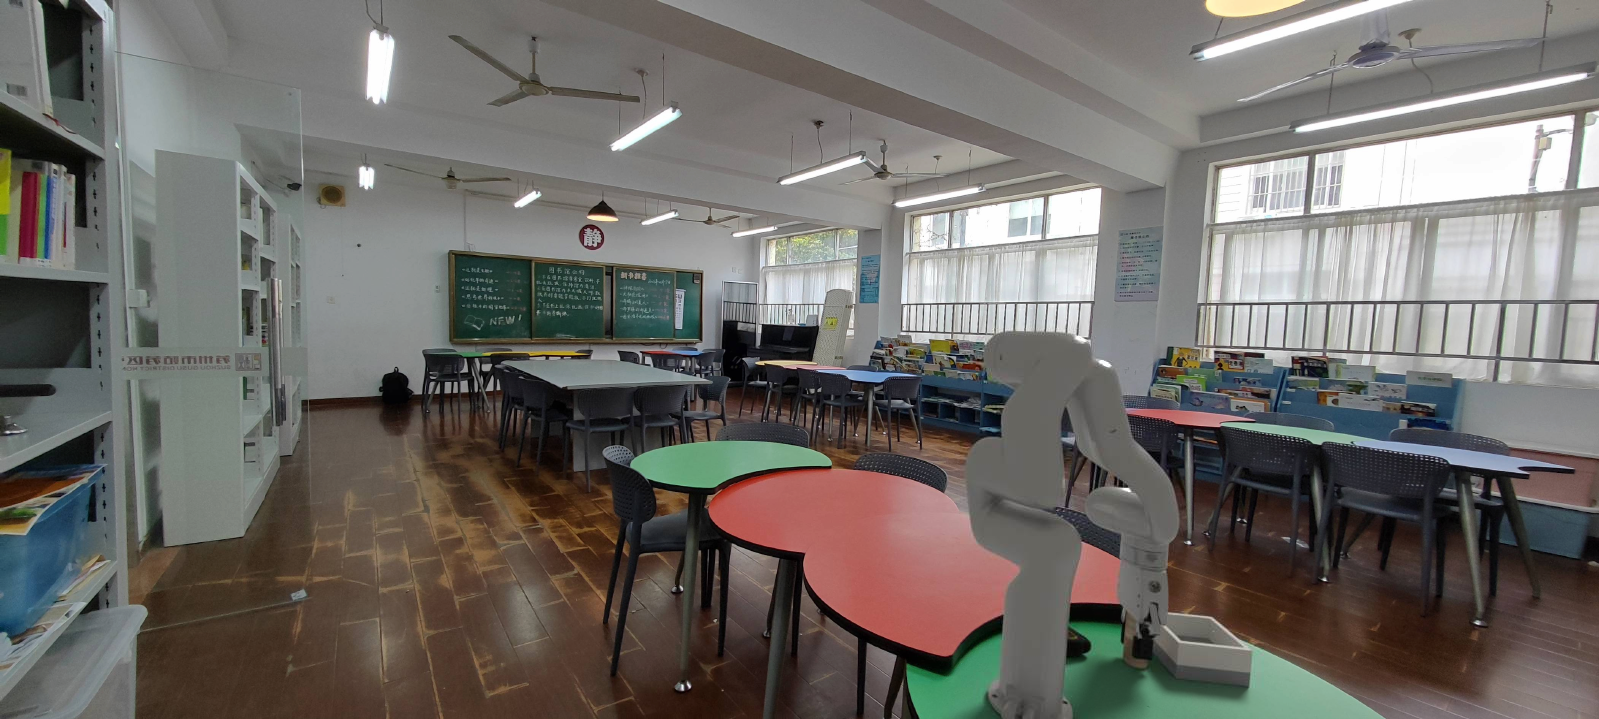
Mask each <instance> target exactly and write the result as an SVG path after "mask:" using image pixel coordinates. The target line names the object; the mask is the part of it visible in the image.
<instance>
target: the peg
mask: <svg viewBox="0 0 1599 719" xmlns="http://www.w3.org/2000/svg"><path fill="white" fill-rule="evenodd" d="M1144 620H1148V618H1144ZM1148 627H1149V625H1142V630H1143V629H1144V628H1148ZM1133 636H1136V620H1135V619H1134V618H1133V617H1132V616H1131V615H1130V614H1129V612H1128V611H1127V614H1126V625H1125V636H1124V644H1123V647H1122V648H1123V651H1122V658H1121V659H1122V661H1123V662H1124V663H1125V664H1126V665H1128V666H1129V667H1131V668H1135V669H1138V670H1139V669H1140V670H1146V669H1147V668H1148V664H1149V660H1142V659H1135V658H1133V656H1132V647H1133Z"/></svg>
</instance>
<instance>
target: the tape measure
mask: <svg viewBox="0 0 1599 719" xmlns="http://www.w3.org/2000/svg"><path fill="white" fill-rule="evenodd" d="M1091 650H1092V642H1091V641H1090V640H1089V639H1088V638H1087V637H1086V636H1084V635H1083V634H1081V633H1080V632H1078V631H1077V630H1075V629H1074V628H1072V627H1070V625H1068V638H1067V651H1066V657H1078V656H1081V655H1084V654H1088V653H1089V652H1090V651H1091Z"/></svg>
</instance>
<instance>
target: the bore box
mask: <svg viewBox="0 0 1599 719" xmlns="http://www.w3.org/2000/svg"><path fill="white" fill-rule="evenodd" d="M1160 629H1161V635H1158V636H1156V637H1155V640H1153V652H1152V654H1154V655H1155V657H1156V658H1157V659H1158V660H1159V661H1160V662H1161V664H1162V665H1164V667H1165V668H1166V669H1167V670H1168V671H1169V673H1170V674H1171V675H1172V676H1173V677H1174V678H1175V679H1177V680H1187V681H1193V682H1194V681H1197V682H1204V683H1213V684H1222V685H1231V686H1241V687H1246V688H1247V687H1248V688H1249V687H1250V682H1251V672H1252V671H1251V670H1252V662H1253V661H1252V660H1253V659H1252V658H1253V650H1252V649H1251V648H1250V647H1249V646H1247V645H1246V643H1244V642H1243V641H1241V639H1239V638H1238V637H1236V636H1235V635H1234V634H1233V633H1232V632H1231V631H1229V630H1228V629H1227V628H1226V627H1225V626H1224V625H1222V624H1221V623H1220V622H1219V621H1217V619H1215V618H1214V617H1212V616H1207V615H1198V614H1197V615H1196V614H1187V613H1176V612H1169V611H1168V619H1167V624H1166V626H1162V625H1160ZM1213 631H1214V632H1213Z"/></svg>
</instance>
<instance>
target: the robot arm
mask: <svg viewBox="0 0 1599 719" xmlns="http://www.w3.org/2000/svg"><path fill="white" fill-rule="evenodd" d="M982 355H983V364H984V366H985V369H986V371H987V373H989V375H990V376H991V377H992V378H993V379H994V380H996V381H997V382H999V383H1001V384H1003V385H1004V386H1007V387H1008V388H1011V390H1012V389H1013V390H1014V392H1013V393H1012V394H1011V396H1009V398H1008V399H1007V401H1006V403H1005V404H1004V407H1003V409H1002V412H1001V417H1000V419H1001V420H1000V426H1001V437H1000V436H986V437H983V438H981V439H979V440H977V441H976V442H975V443H974V444H973V445H972V447H970V450H969V451H968V454H967V456H966V460H965V465H964V481H965V491H966V499H967V508H968V516H969V523H970V528H971V532H972V535H973V537H974V540H975V541H976V543H977V544H978V545H979V546H980V547H981V548H983V549H984V550H986V551H988V552H990V553H991V554H994V555H996V556H998V557H1000V558H1002V559H1004V560H1007V561H1009V562H1010V563H1012V564H1014V565H1016V566H1018V567H1019V572H1018V573H1017V575H1016V576H1015V577H1014V578H1013V579H1012V580H1011V581H1010V582H1009V584H1007V587H1006V590H1005V594H1004V603H1003V605H1004V606H1003V617H1002V618H1003V620H1002V636H1001V649H1000V665H999V676H998V678H995V679H994V680H993V681H991V683H989V684H990V685H989V686H988V693H987V698H988V701H989V703H990V706H992V708H993V709H994V710H995V711H996V713H997V714H998V715H1000V716H1001V718H1002V719H1073V718H1074V710H1073V707H1072V705H1071V703H1070V701H1069V700H1068V698H1066V696H1065V695H1064V689H1065V676H1066V662H1067V655H1066V651H1067V638H1068V626H1069V622H1070V621H1069V620H1070V610H1071V609H1070V607H1071V600H1072V599H1071V598H1072V592H1073V586H1074V582H1075V576H1076V573H1077V570H1078V566H1079V563H1080V560H1081V556H1082V551H1083V550H1082V549H1083V542H1082V538H1081V534H1080V533H1079V531H1078V530H1077V529H1076V527H1075V526H1074V525H1073V524H1072V523H1070V522H1069V521H1068V520H1066V519H1065V518H1063V517H1061V516H1059V515H1057V514H1054V513H1052V512H1048V511H1046V510H1051V509H1054V508H1056V507H1057V506H1058V505H1059V504H1060V503H1062V501H1063V499H1064V495H1065V490H1066V478H1065V477H1066V476H1065V466H1064V465H1065V464H1064V463H1065V462H1064V451H1063V441H1062V439H1063V438H1062V419H1063V414H1064V411H1065V409H1067V413H1068V416H1069V419H1070V423H1071V428H1072V430H1073V434H1074V439H1075V443H1076V446H1077V448H1078V450H1079V452H1080V453H1081V454H1083V456H1084V457H1086V458H1087V459H1088V460H1089V461H1091V462H1093V463H1094V464H1095V465H1097V466H1099V468H1101V469H1103V470H1104V471H1107V472H1108V473H1109V474H1111V475H1113V476H1114V477H1116V478H1117V479H1119V480H1120V481H1122V482H1123V483H1124V484H1126V485H1127V487H1116V486H1102V487H1101V486H1100V487H1097V488H1095V489H1093V490H1092V491H1091V492H1090V493H1089V494H1088V495H1087V497H1086V499H1085V502H1084V511H1085V515H1086V516H1087V518H1088V519H1089V521H1090V522H1092V523H1093V524H1095V525H1096V526H1098V527H1100V528H1102V529H1104V530H1105V529H1106V530H1108V531H1111V532H1114V533H1117V534H1119V535H1120V537H1121V538H1120V547H1119V560H1120V564H1119V571H1118V578H1117V579H1118V580H1117V589H1116V590H1117V592H1116V593H1117V594H1116V595H1117V597H1116V598H1117V600H1118V603H1119V604H1120V605H1121V606H1120V608H1121V616H1120V619H1121V632H1120V643H1121V644H1122V645H1124V636H1125V625H1126V614H1127V611H1128V612H1129V614H1130V615H1131V616H1132V617H1133V618H1134V619H1135V620H1136V636H1133V647H1132V656H1133V658H1135V659H1142V660H1148V661H1152V659H1153V640H1155V637H1156V636H1158V635H1161V629H1160V625H1162V626H1166V624H1167V619H1168V612H1169V582H1168V574H1167V569H1168V561H1169V559H1168V558H1169V546H1170V543H1171V542H1172V541H1173V540H1175V538H1176V536H1177V535H1178V532H1179V528H1180V513H1179V512H1180V511H1179V506H1178V503H1177V502H1178V500H1177V497H1176V492H1175V489H1174V486H1173V483H1172V481H1171V478H1170V477H1169V476H1168V474H1167V473H1166V472H1165V471H1164V469H1163V468H1162V467H1161V466H1160V465H1159V463H1158V462H1157V461H1156V460H1155V459H1154V458H1153V457H1152V456H1151V454H1149V452H1147V451H1146V450H1145V449H1144V448H1143V446H1141V445H1140V444H1139V443H1138V442H1137V441H1136V440H1135V439H1134V437H1133V435H1132V430H1131V426H1130V422H1129V418H1128V417H1129V416H1128V414H1127V410H1126V404H1125V401H1124V397H1123V391H1122V388H1121V384H1120V380H1119V376H1118V373H1117V370H1116V369H1115V368H1114V366H1113V365H1112V364H1111V363H1110V362H1108V361H1105V360H1104V359H1100V358H1096V357H1093V350H1092V346H1091V344H1090V343H1089V342H1088V340H1087V339H1085V338H1084V337H1083V336H1081V335H1077V334H1074V333H1068V332H1064V331H1063V332H1061V331H1044V330H1043V331H1033V330H1032V331H1031V330H1030V331H1028V330H1006V331H1005V330H1004V331H1000V332H997V333H996V334H994V335H993V336H991V337H990V338H989V339H988V341H987V342H986V344H985V346H984V349H983V354H982ZM1144 618H1148V620H1144ZM1142 625H1149V627H1148V628H1144V629H1143V630H1142Z"/></svg>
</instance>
